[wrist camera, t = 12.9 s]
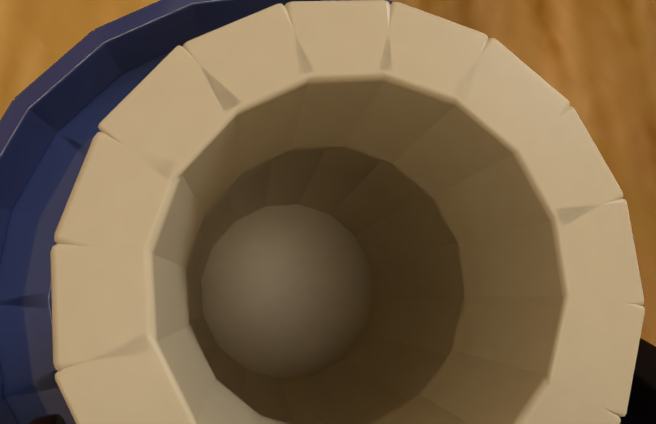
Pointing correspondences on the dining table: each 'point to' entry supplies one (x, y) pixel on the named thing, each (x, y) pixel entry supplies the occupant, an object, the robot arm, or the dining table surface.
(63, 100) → the bowl
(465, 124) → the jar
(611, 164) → the dining table surface
